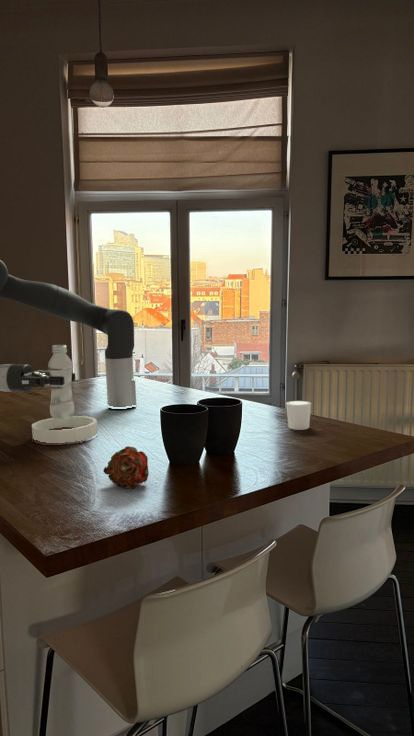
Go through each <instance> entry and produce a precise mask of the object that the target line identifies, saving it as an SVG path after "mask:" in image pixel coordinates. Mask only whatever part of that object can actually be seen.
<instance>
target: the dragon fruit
mask: <svg viewBox="0 0 414 736" xmlns="http://www.w3.org/2000/svg"><path fill="white" fill-rule="evenodd" d="M148 461H149V459H148V455H146V453H145V452H144V451H141V450H140V451H138V449H137V448H136V447H134V446H130V445H129V446H125V447H124V448H122V449H120V450H119V451H116V452H115V453H113V455H112V456H111V457H110V460H109V461H108V462H107V466H105V467H104V468H103V473H104V474H105V475H107V476H108V479H109V480H110V481H111V482H112V483H113V484H114V485H116V486H118V487H122V488H124V489H130V490H133V489H135V488H136V487H137V486H138V485H141V484H143V483H144V484H145V483H146V482H147V480H148V478H149V474H150V473H149V464H148V463H149V462H148Z"/></svg>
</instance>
